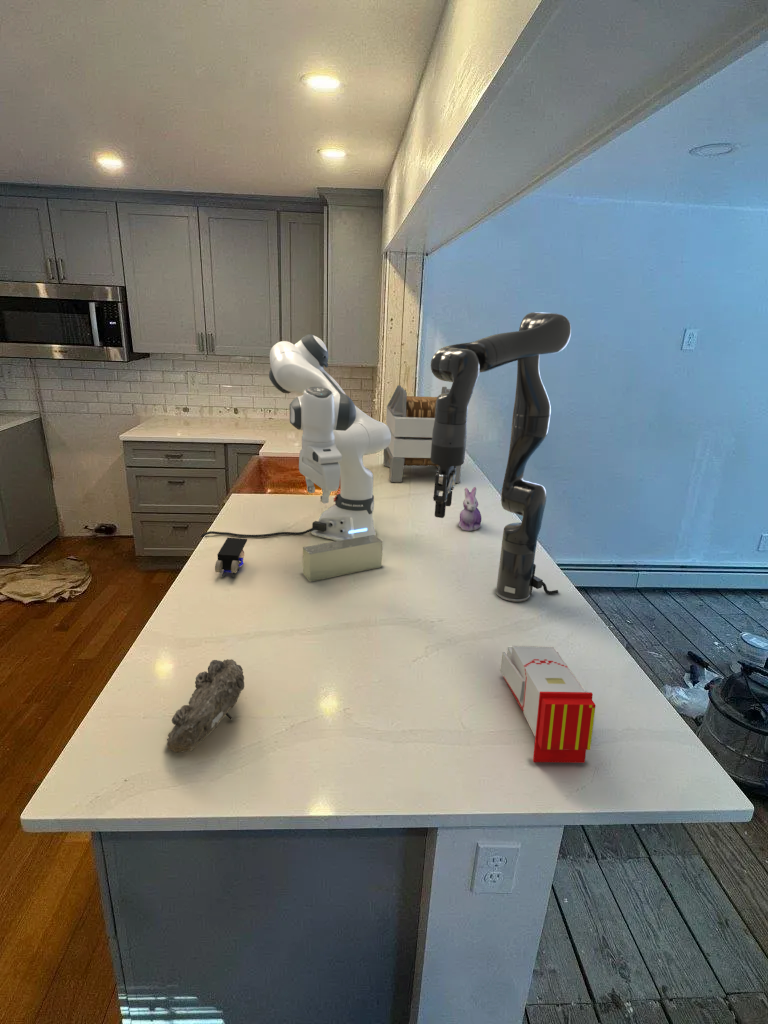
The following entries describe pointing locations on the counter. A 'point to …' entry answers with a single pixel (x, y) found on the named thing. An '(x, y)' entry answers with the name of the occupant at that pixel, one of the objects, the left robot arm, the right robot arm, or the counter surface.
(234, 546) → the toy car
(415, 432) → the grey storage crate
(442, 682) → the counter surface
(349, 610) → the counter surface
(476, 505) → the figurine
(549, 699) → the toy
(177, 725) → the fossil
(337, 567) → the bar
